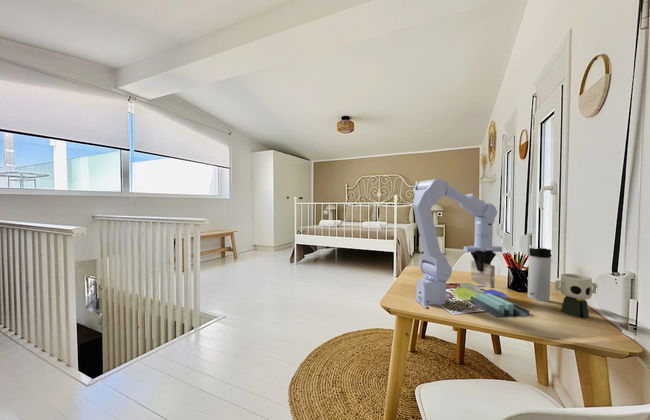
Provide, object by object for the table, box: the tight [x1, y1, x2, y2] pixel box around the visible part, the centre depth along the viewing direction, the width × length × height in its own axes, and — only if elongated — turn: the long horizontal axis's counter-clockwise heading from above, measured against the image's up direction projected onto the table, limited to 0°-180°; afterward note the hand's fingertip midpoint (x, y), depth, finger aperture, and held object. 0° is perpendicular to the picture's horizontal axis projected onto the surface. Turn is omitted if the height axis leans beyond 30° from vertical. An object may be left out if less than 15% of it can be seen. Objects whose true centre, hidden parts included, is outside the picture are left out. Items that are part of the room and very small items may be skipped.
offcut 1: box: [475, 293, 505, 314], centre depth 85 cm, size 2×10×3 cm, turn 8°
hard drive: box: [476, 285, 510, 299], centre depth 102 cm, size 2×8×12 cm
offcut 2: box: [483, 293, 515, 314], centre depth 86 cm, size 2×10×3 cm, turn 7°
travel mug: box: [527, 247, 552, 303], centre depth 94 cm, size 6×7×20 cm
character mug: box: [554, 272, 598, 319], centre depth 81 cm, size 11×7×13 cm, turn 75°
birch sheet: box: [470, 259, 496, 289], centre depth 97 cm, size 2×10×8 cm, turn 7°
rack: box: [465, 296, 535, 319], centre depth 86 cm, size 13×14×2 cm
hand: (482, 270), depth 97 cm, fingers closed on birch sheet, 2 cm apart
